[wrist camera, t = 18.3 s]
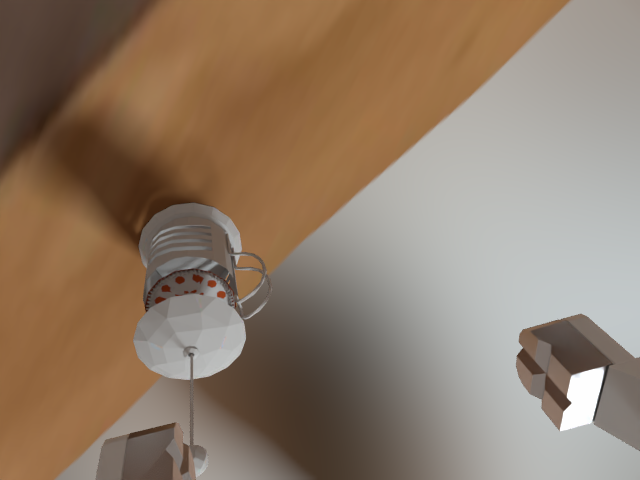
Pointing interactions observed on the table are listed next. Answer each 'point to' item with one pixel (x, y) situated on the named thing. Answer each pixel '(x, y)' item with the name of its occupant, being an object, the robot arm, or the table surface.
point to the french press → (192, 297)
